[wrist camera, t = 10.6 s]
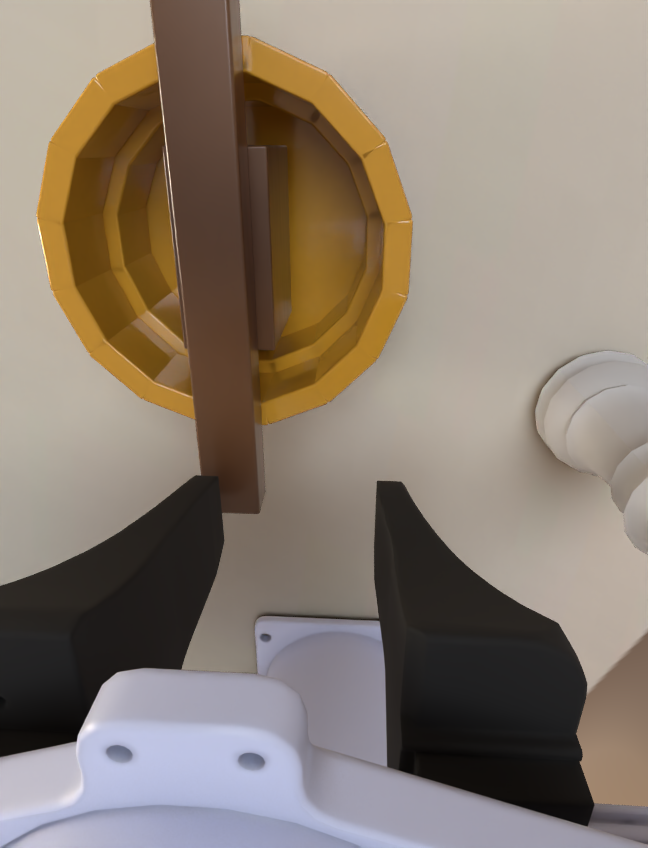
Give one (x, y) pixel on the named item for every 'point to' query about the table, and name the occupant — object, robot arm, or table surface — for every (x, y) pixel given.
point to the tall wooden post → (222, 236)
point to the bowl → (153, 247)
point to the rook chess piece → (603, 428)
